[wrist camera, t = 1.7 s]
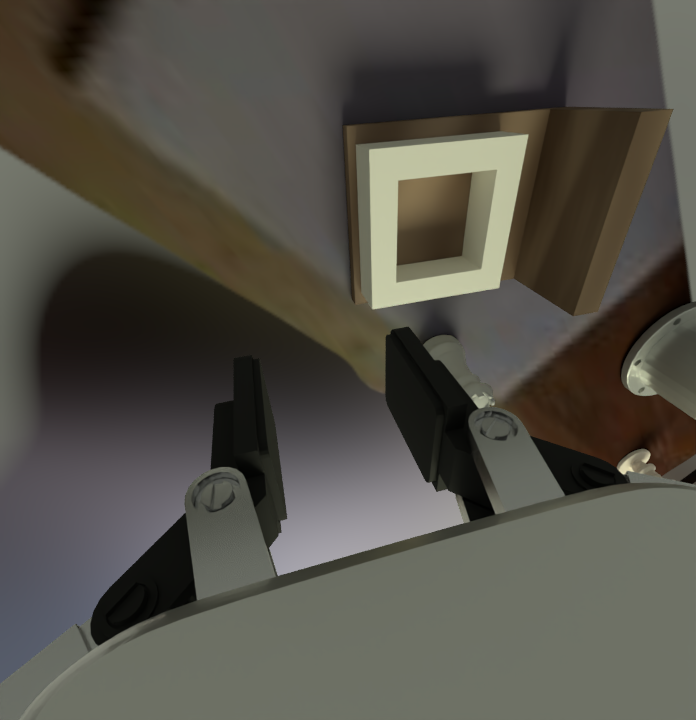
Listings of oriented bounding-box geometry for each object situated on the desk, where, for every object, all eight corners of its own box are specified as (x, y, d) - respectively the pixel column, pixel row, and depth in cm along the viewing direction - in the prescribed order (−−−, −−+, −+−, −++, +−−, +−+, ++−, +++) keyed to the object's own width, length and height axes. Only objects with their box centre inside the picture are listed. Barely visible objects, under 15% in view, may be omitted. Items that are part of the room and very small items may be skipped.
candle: (653, 445, 57) (724, 504, 49) (638, 468, 60) (703, 527, 52) (625, 452, 56) (693, 513, 48) (611, 474, 59) (672, 536, 51)
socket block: (501, 131, 25) (528, 134, 23) (478, 273, 31) (498, 288, 28) (355, 144, 23) (369, 149, 21) (361, 292, 29) (372, 309, 27)
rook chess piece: (418, 334, 34) (460, 388, 28) (462, 330, 35) (513, 381, 29) (411, 373, 37) (449, 431, 30) (453, 368, 38) (497, 423, 31)
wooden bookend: (565, 106, 26) (673, 108, 20) (527, 270, 33) (597, 311, 27) (342, 125, 23) (383, 134, 17) (352, 299, 30) (383, 352, 24)
